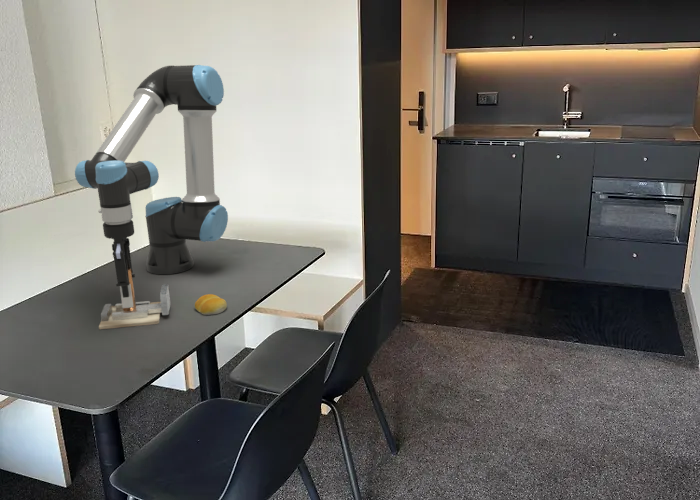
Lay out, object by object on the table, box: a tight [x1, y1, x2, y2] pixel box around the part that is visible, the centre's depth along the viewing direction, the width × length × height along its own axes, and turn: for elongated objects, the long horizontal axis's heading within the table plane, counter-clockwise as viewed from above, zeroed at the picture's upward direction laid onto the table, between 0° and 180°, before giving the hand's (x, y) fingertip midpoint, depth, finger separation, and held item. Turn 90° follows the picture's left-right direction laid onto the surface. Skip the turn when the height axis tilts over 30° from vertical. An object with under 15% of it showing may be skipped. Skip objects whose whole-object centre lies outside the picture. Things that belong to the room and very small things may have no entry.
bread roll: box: [194, 293, 228, 316], centre depth 179 cm, size 8×9×4 cm
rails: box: [100, 300, 151, 321], centre depth 174 cm, size 7×12×2 cm, turn 101°
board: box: [98, 301, 162, 330], centre depth 175 cm, size 14×15×1 cm
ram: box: [123, 268, 171, 316], centre depth 174 cm, size 8×12×12 cm, turn 101°
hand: (128, 304), depth 174 cm, fingers closed on ram, 3 cm apart
